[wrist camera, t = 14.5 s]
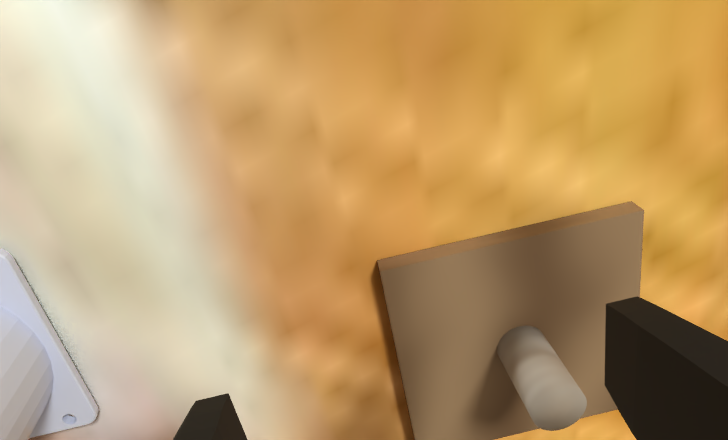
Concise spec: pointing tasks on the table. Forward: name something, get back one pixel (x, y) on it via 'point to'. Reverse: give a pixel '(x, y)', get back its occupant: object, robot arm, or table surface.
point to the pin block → (511, 324)
